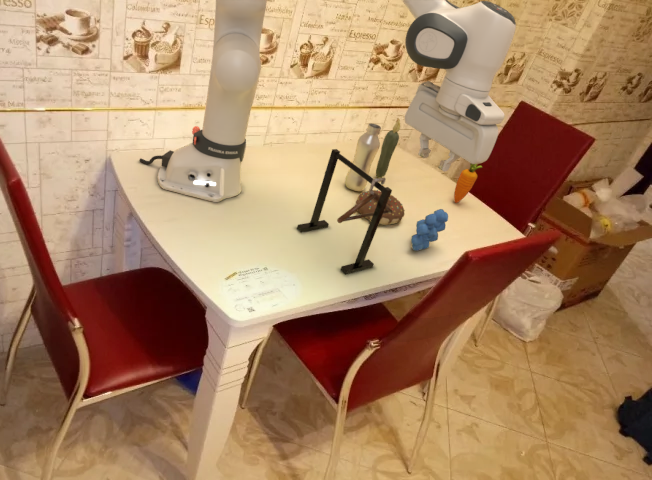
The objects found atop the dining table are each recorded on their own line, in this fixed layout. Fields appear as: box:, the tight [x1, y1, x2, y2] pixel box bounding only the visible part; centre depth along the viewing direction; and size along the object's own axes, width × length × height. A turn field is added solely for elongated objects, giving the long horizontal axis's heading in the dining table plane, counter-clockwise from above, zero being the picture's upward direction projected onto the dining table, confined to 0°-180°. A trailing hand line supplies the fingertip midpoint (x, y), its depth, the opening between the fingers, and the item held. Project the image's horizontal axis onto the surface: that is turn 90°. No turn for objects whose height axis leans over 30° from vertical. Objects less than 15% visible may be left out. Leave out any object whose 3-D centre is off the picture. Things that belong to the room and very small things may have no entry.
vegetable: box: [375, 117, 401, 179], centre depth 162 cm, size 4×4×20 cm
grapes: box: [410, 208, 449, 252], centre depth 135 cm, size 12×7×12 cm, turn 129°
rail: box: [296, 148, 393, 276], centre depth 123 cm, size 9×20×22 cm, turn 35°
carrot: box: [453, 163, 483, 204], centre depth 162 cm, size 5×5×15 cm
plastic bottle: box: [344, 122, 382, 192], centre depth 152 cm, size 6×7×20 cm
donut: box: [355, 189, 406, 226], centre depth 147 cm, size 14×14×5 cm
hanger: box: [336, 177, 393, 224], centre depth 115 cm, size 17×1×10 cm, turn 125°
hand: (432, 163), depth 108 cm, fingers open, 4 cm apart
